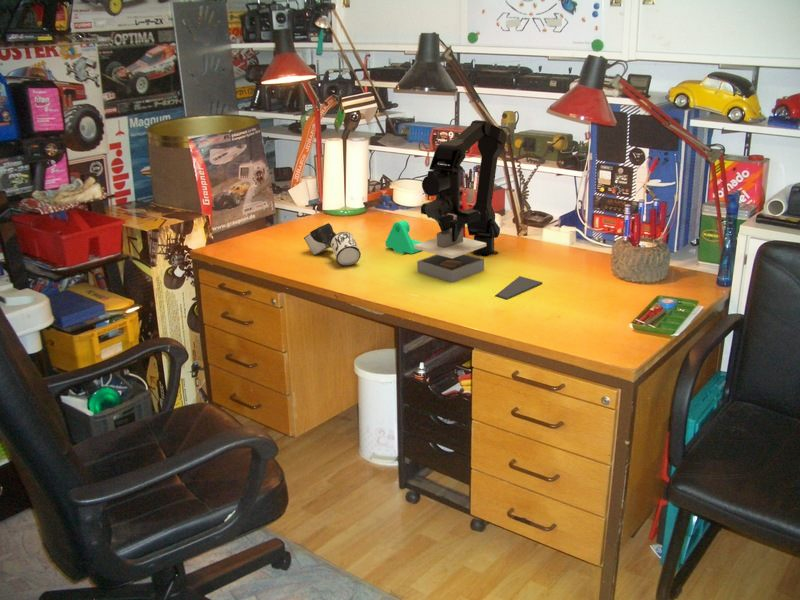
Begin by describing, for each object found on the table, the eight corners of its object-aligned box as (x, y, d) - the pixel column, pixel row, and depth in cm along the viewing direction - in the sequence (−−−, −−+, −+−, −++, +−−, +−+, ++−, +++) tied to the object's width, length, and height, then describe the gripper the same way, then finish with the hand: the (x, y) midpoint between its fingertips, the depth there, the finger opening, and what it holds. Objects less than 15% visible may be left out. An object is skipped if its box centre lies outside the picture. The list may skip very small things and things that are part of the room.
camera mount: (428, 251, 256) (427, 220, 252) (411, 257, 251) (410, 225, 247) (402, 244, 264) (401, 214, 260) (385, 249, 259) (384, 219, 256)
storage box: (449, 262, 245) (449, 249, 243) (484, 272, 235) (484, 259, 234) (417, 273, 236) (417, 261, 234) (452, 284, 226) (452, 271, 225)
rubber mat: (498, 271, 235) (498, 270, 235) (542, 283, 224) (542, 282, 224) (462, 286, 225) (462, 284, 225) (506, 299, 214) (506, 297, 214)
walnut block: (447, 267, 238) (447, 259, 237) (462, 269, 236) (462, 261, 235) (439, 272, 234) (439, 264, 233) (454, 274, 232) (454, 266, 231)
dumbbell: (369, 264, 245) (367, 234, 242) (342, 272, 240) (340, 240, 236) (326, 246, 265) (324, 217, 261) (301, 252, 259) (298, 223, 256)
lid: (448, 236, 242) (448, 220, 240) (486, 246, 232) (486, 229, 230) (414, 248, 233) (413, 231, 231) (452, 258, 222) (451, 241, 221)
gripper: (406, 188, 227) (408, 240, 233) (455, 198, 214) (455, 253, 220) (433, 181, 234) (434, 232, 240) (481, 191, 222) (481, 244, 227)
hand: (450, 240), depth 232 cm, fingers closed on lid, 3 cm apart
